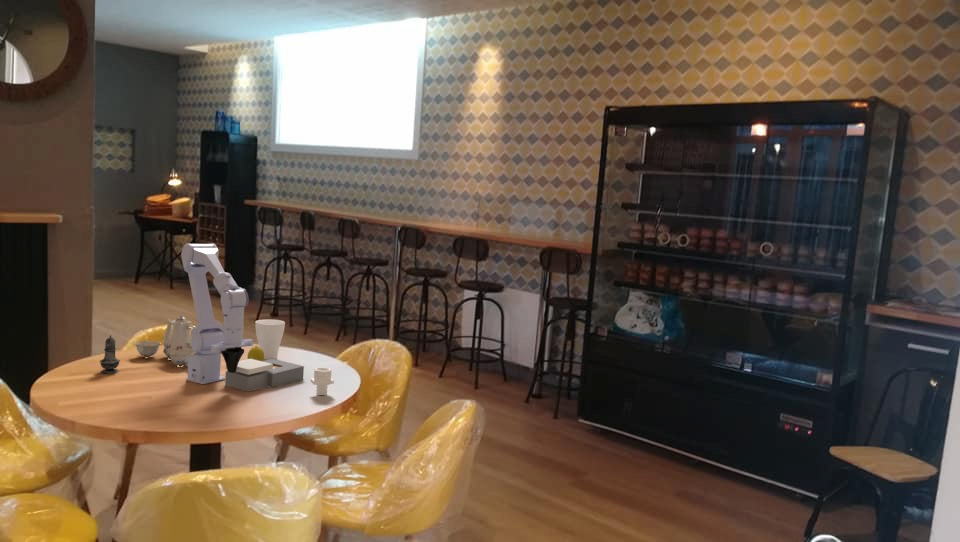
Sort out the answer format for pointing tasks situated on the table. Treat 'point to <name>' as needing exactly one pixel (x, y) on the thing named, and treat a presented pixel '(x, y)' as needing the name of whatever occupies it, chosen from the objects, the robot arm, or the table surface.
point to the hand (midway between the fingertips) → (231, 372)
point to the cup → (269, 336)
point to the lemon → (256, 354)
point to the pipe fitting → (322, 380)
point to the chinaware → (172, 342)
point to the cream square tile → (252, 366)
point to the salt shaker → (109, 357)
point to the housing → (266, 376)
